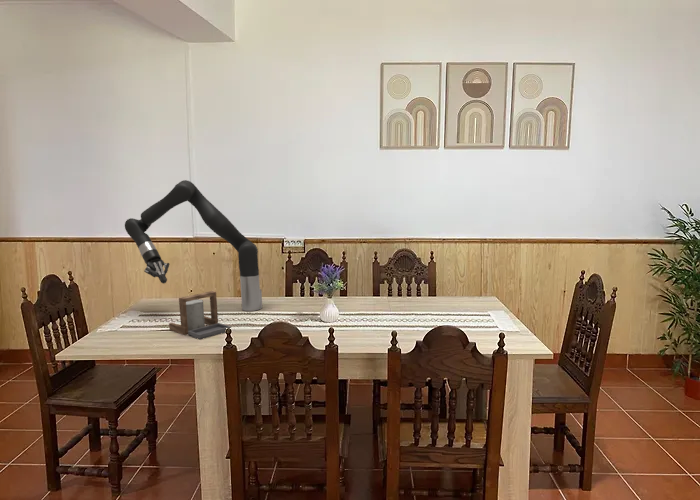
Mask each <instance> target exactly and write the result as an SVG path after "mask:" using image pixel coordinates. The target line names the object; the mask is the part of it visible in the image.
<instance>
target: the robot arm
mask: <svg viewBox="0 0 700 500" xmlns="http://www.w3.org/2000/svg"><path fill="white" fill-rule="evenodd" d="M186 202H189V203H190V205H192V206H193V207H194V208H195V209H196V211H197V212H198V214H199V215H200V218H201V220H202V221H203V223H204V224H205V225H206V226H207V227H208V228H209V229H210V230H211V231H213V233H215V234H216V235H218V237H220V238H221V239H223V240H224V241H226V242H227V243H229V244H230V245H231V246H232V247H233V248H234V249H235V250H236V251H237V253H238V268H239V280H240V295H241V296H240V297H241V299H240V300H241V310H242V311H243V312H253V311H258V310H260V309H263V294H262V289H261V288H260V287H261V286H260V269H259V256H258V255H259V251H258V246H257V245H256V244H255V243H254V242H252V241H251V240H250V239H248V238H247V237H246V236H245V235H244V234H243V233H241V232H240V231H239V230H238V229H237V227H236V226H235V225H234V224H233V223H232V222H231V221H230V220H229V219H228V218H227V216H226V215H225V214H223V212H221V211H220V210H219V209H218V208H217V207H216V206H215V205H214V204H213V203H211V201H209V200H208V199H207V198H206V197H205V195H204V194H203V193H202V192H201V191H200V190H199V189H198V186H196V184H195V183H193V182H192V181H190V180H187V179H186V180H185V179H184V180H181V181H179V182H178V183H176V184H175V185H174V187H173V188H172V189H171V190H170V191H169V193H167V194H166V195H165V196H164V197H163V198H161V199H160V200H158V201H157V202H155V203H154V204H152V205H150V206H148V208H146V209H145V210H143V211H142V212H141V213H140V219H137V218H131V217H130V218H128V219H126V221H124V230H125V231H126V233H127V234H128V236H129V237H130V238H131V239H132V241H134V242H135V243H134V244H136V246H137V248H138V251H139V253H140V255H141V258H142V259H143V261H144V263H145V265H146V267H145V269H144V270H143V271H144V273H146V274H148V275H149V276H151V277H153V278H158V279H159V282H160V283H161V284H167V281H168V278H167V277H166V275H167V273H168V272H169V267H170V263H169V262H167V263H166V262H164V260H163V259H162V257H161V255H160V253H159V251H158V248H157V247H156V246H155V244H154V243H153V241H152V239H151V237H150V236H149V234H148V233H146V232H147V230H149V228H150V227H151V225H152V224H154V223H155V222H156V221H158V220H159V219H161V218H162V217H163V216H164V215H165V214H167V213H168V212H170V210H171V209H173V208H175V207H176V206H179V205H181V204H183V203H186Z"/></svg>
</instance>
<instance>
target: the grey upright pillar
mask: <svg viewBox="0 0 700 500" xmlns="http://www.w3.org/2000/svg"><path fill="white" fill-rule="evenodd" d="M186 310H187V323H188V331H190V330H194V329H198V328H202V327H206V324H205V322H204V316H205V309H204V300H202V299H197V300H192V301H188V302H186Z"/></svg>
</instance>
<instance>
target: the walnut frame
mask: <svg viewBox="0 0 700 500" xmlns="http://www.w3.org/2000/svg"><path fill="white" fill-rule="evenodd" d="M205 298H209V304H210V317H209V316H206V315H204V322H205V325H206V326H209V325H213V324H217V323H219V315H218V314H219V313H218V300H217V291H214V290H211V291H205V292H201V293H196V294H192V295H187V296H182V297H178V304H179V316H180V324H178V323H175V322H169V323H168V326H169V327H168V328H169V331H171V332H175V333H178V334H181V335H182V336H183V335H184V336H188V323H187V310H186V302H188V301H192V300H197V299H199V300H202V299H205Z"/></svg>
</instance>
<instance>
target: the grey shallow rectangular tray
mask: <svg viewBox="0 0 700 500" xmlns="http://www.w3.org/2000/svg"><path fill="white" fill-rule="evenodd" d="M226 328H231V329H232V326H230V325H227V324H225V323H220V322H218V323H217V324H213V325H205V327H202V328H198V329H194V330H190V331H188V335H187V336H188V337H191V338H194V339H197V338H198V339H197V340H204V339H206V338H210V337H214V336H218V335H221V333H222V334H224V333H225V334H226V332H225V330H226ZM203 338H204V339H203Z"/></svg>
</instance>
